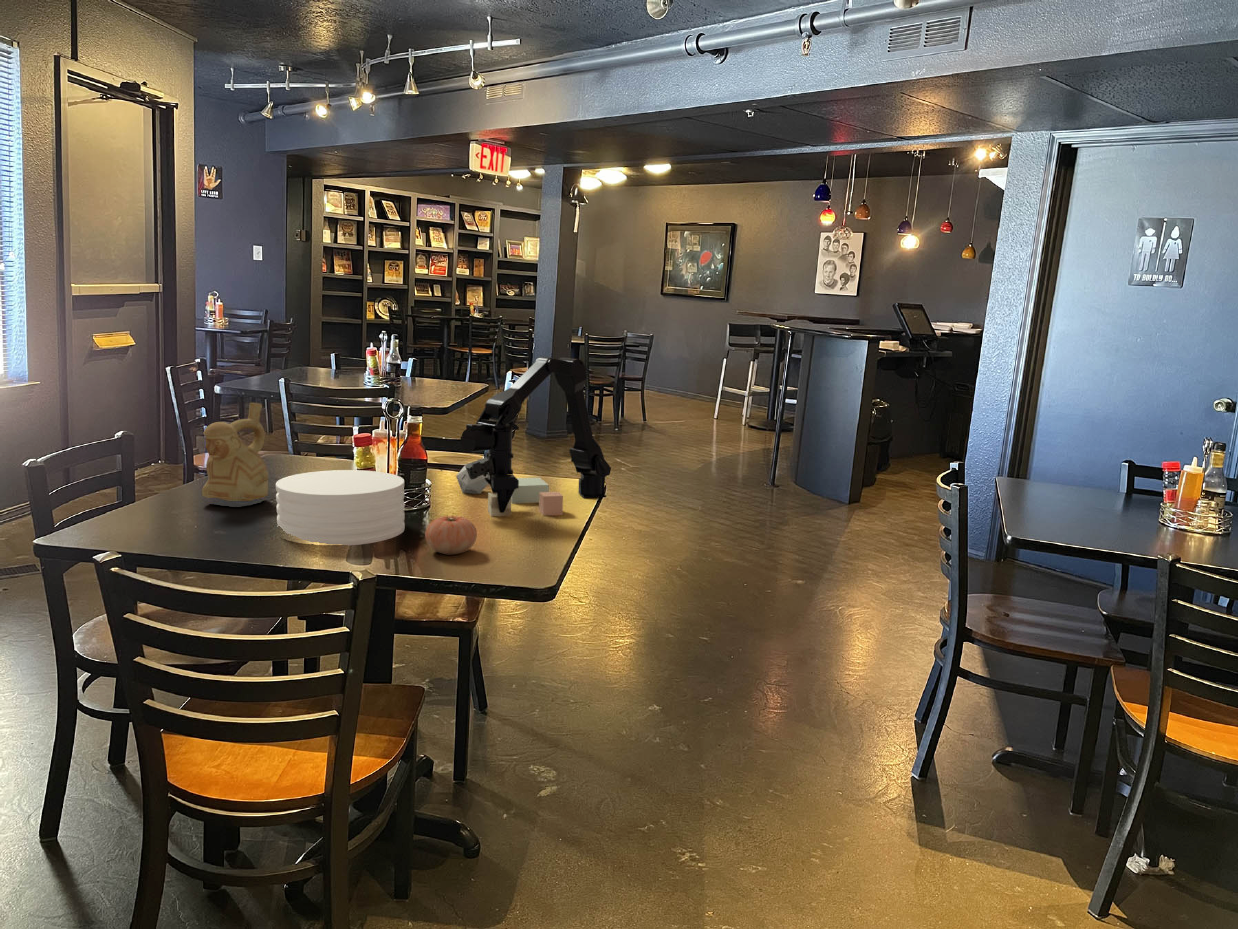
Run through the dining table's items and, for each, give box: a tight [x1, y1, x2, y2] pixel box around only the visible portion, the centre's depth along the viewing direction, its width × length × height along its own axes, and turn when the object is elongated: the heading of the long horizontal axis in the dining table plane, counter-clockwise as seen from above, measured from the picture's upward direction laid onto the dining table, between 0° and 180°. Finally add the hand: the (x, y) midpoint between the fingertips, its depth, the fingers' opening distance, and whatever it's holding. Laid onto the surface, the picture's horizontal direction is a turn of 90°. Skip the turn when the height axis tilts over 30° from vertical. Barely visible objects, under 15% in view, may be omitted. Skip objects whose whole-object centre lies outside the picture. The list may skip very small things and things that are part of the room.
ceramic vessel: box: [201, 402, 269, 501], centre depth 230 cm, size 17×20×25 cm
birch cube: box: [487, 492, 512, 517], centre depth 231 cm, size 5×5×5 cm
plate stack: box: [275, 469, 406, 546], centre depth 210 cm, size 28×28×12 cm
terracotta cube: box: [538, 491, 564, 516], centre depth 234 cm, size 5×5×5 cm
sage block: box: [511, 477, 550, 505], centre depth 249 cm, size 10×10×5 cm
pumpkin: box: [424, 515, 478, 556], centre depth 195 cm, size 11×11×8 cm
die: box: [455, 465, 489, 495], centre depth 254 cm, size 8×9×10 cm
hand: (499, 509), depth 231 cm, fingers open, 6 cm apart
